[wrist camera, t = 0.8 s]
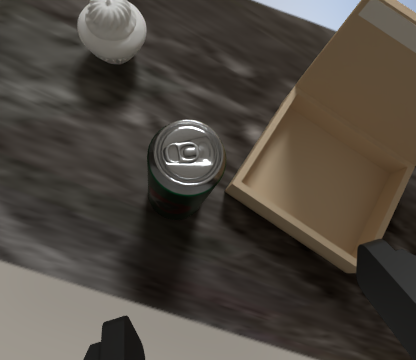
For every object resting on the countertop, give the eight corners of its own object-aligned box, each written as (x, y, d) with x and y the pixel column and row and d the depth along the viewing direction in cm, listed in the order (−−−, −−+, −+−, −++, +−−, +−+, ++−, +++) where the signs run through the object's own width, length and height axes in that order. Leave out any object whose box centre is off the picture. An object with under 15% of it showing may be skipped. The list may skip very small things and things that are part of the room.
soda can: (206, 215, 32) (237, 185, 21) (152, 224, 31) (154, 198, 20) (197, 164, 34) (221, 109, 22) (144, 171, 33) (141, 118, 21)
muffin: (89, 20, 36) (74, -37, 29) (149, 29, 36) (149, -25, 30) (80, 74, 34) (63, 26, 27) (143, 82, 35) (142, 37, 28)
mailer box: (224, 191, 33) (281, 130, 19) (285, 96, 37) (372, -16, 23) (346, 273, 33) (498, 274, 19) (395, 169, 37) (554, 104, 22)
